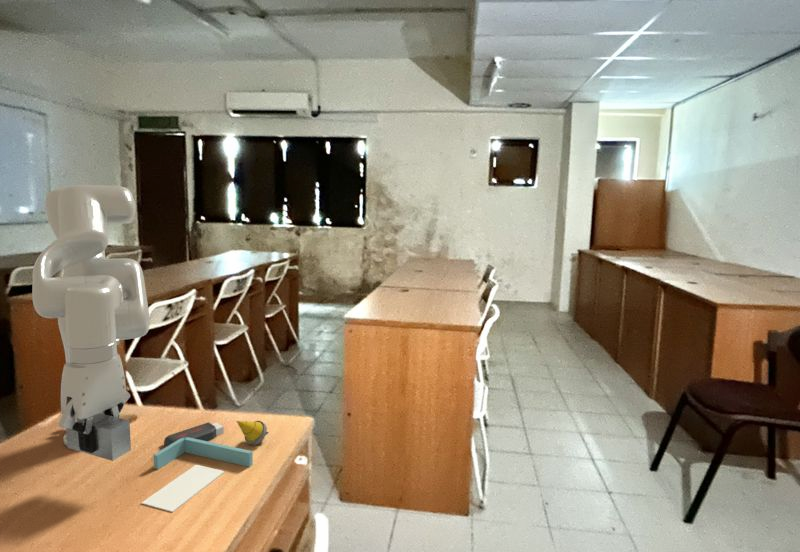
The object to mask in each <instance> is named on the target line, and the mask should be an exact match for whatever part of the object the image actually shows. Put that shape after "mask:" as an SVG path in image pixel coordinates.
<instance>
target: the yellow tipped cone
mask: <svg viewBox="0 0 800 552" xmlns="http://www.w3.org/2000/svg"><path fill="white" fill-rule="evenodd" d="M236 423H237V425H238V427H239V428H240V430H241V432H242V434H243V435H244V440H245V443H248V444H249V445H251V446H255V445H256V446H257V445H258V444H260V443H261V442H262V441H263V439H265V437H266V436H267V435H268V434H269V432H268V431H267V430H268V427H267V425H266V424H265V423H264V422H263V421H261V420H255V421H247V420H246V421H245V420H236Z"/></svg>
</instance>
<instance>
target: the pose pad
mask: <svg viewBox="0 0 800 552" xmlns="http://www.w3.org/2000/svg"><path fill="white" fill-rule="evenodd" d="M225 472H226V471H224V470H221V469H216V468H212V467H208V466H205V465H204V466H203V465H199V464H194V465H193V466H192V467H191V468H189V469H188V470H186V471H185V472H183V473H182V474H181V475H179V476H177V477H176V478H175V479H173V480H172V481H170V482H169V483H167V484H166V485H165V486H163V487H162V488H161V489H159V490H158V491H156V492H154V493H153V494H152V495H150V496H148V497H147V498H146V499H145V500H143V501H142V502H141V505H145V506H148V507H152V508H155V509H159V510H162V511H167V512H171V513H174V512H176V510H178V509H179V508H180V507H182V506H183V505H184V504H185V503H187V502H188V501H189V500H191V499H192V498H193V497H195V496H197V494H199V492H201V491H202V490H204V489H205V488H206V487H207V486H209V485H210V484H211V483H213V482H214V481H215V480H217V479H218V478H219V477H221V475H223V474H225Z"/></svg>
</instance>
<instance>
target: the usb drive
mask: <svg viewBox="0 0 800 552" xmlns="http://www.w3.org/2000/svg"><path fill="white" fill-rule="evenodd" d="M224 431H225V430H224V426H223V425H221V424H220V423H219V422H214V423H210V422H209V421H208V422H205V423H202V424H199V425H196V426H194V427H190V428H187V429H185V430H181V431H178V432H174V433H171V434H169V435H167V436H166V437H164V440H163V445H164V446H165V448H166V447H167V446H169V445H171V444H172V443H174V442H176V441H177V440H179V439H181V438H182V437H184V436H185V437H189V438H194V439H198V440H203V441H208V442H210V441H212V440H214V439H215V438H216V437H217V436H221V435H223V434H224V433H225V432H224Z"/></svg>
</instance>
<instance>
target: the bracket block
mask: <svg viewBox="0 0 800 552" xmlns="http://www.w3.org/2000/svg"><path fill="white" fill-rule="evenodd" d="M75 415H76V414H75ZM75 415H74V417H73V419H72V421H73V422H75ZM83 425H84V420H83ZM65 431H66V432H65V434H66V433H67V446H66V447H67V449H70V450H74V451H77V452H81V453H84V454H86V455H87V454H88V455H90V456H94V457H98V458H102V459H105V460H108V461H112V462H113V461H115V460H117V459H118V458H120V457H122V456H124V455H126V454H127V453H128V452H130V451H131V450H132V445H131V443H132V442H131V425H130V420H128V419H124V418H121V417H120V418H117V417H113V416H109V415H105V414H101V413H99V414H96V415H94V416H93V419H92V429H91V432H94V436H95V452H93V453H89V452H85V451H82V450H80V447H79V439H78V432H76V431H74V430H72V429H68V428H65Z"/></svg>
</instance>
